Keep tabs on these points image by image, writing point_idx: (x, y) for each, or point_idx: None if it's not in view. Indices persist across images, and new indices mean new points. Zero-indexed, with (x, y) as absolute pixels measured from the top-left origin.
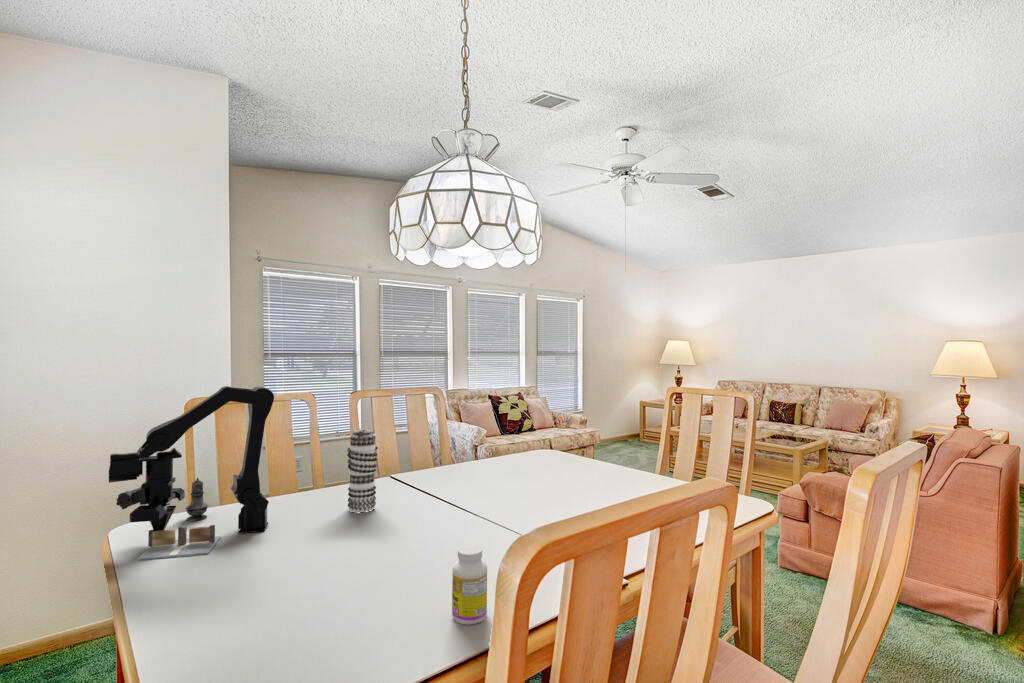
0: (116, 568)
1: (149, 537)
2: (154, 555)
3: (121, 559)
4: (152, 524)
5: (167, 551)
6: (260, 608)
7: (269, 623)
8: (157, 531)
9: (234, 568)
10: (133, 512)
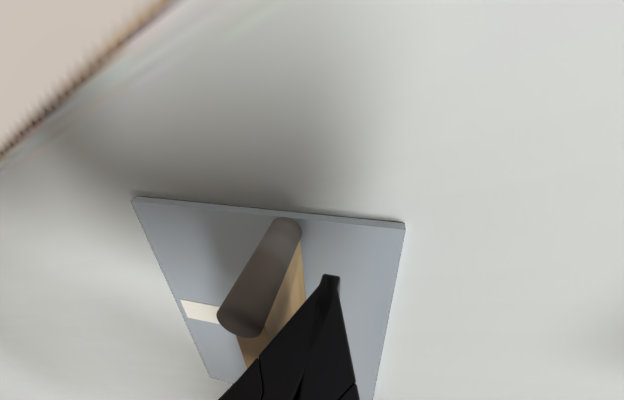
0: (39, 130)
1: (245, 267)
2: (174, 257)
3: (137, 103)
4: (237, 387)
5: (221, 293)
6: (29, 384)
7: (7, 383)
8: (246, 342)
9: (136, 389)
10: None
